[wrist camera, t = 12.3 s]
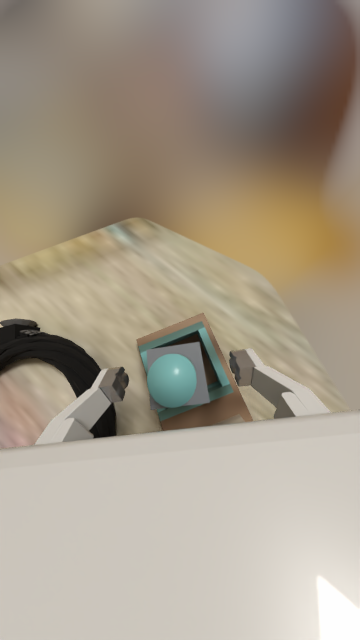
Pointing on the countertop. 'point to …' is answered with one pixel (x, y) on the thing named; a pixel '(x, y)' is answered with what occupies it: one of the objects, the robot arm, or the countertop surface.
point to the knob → (176, 376)
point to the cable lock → (55, 362)
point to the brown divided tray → (219, 379)
